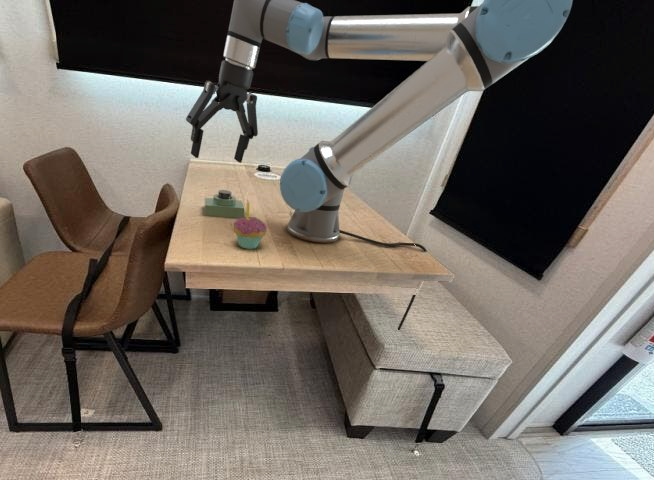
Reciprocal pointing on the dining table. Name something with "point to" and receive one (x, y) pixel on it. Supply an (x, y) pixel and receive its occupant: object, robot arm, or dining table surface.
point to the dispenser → (224, 207)
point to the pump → (224, 194)
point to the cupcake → (249, 230)
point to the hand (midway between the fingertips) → (217, 158)
